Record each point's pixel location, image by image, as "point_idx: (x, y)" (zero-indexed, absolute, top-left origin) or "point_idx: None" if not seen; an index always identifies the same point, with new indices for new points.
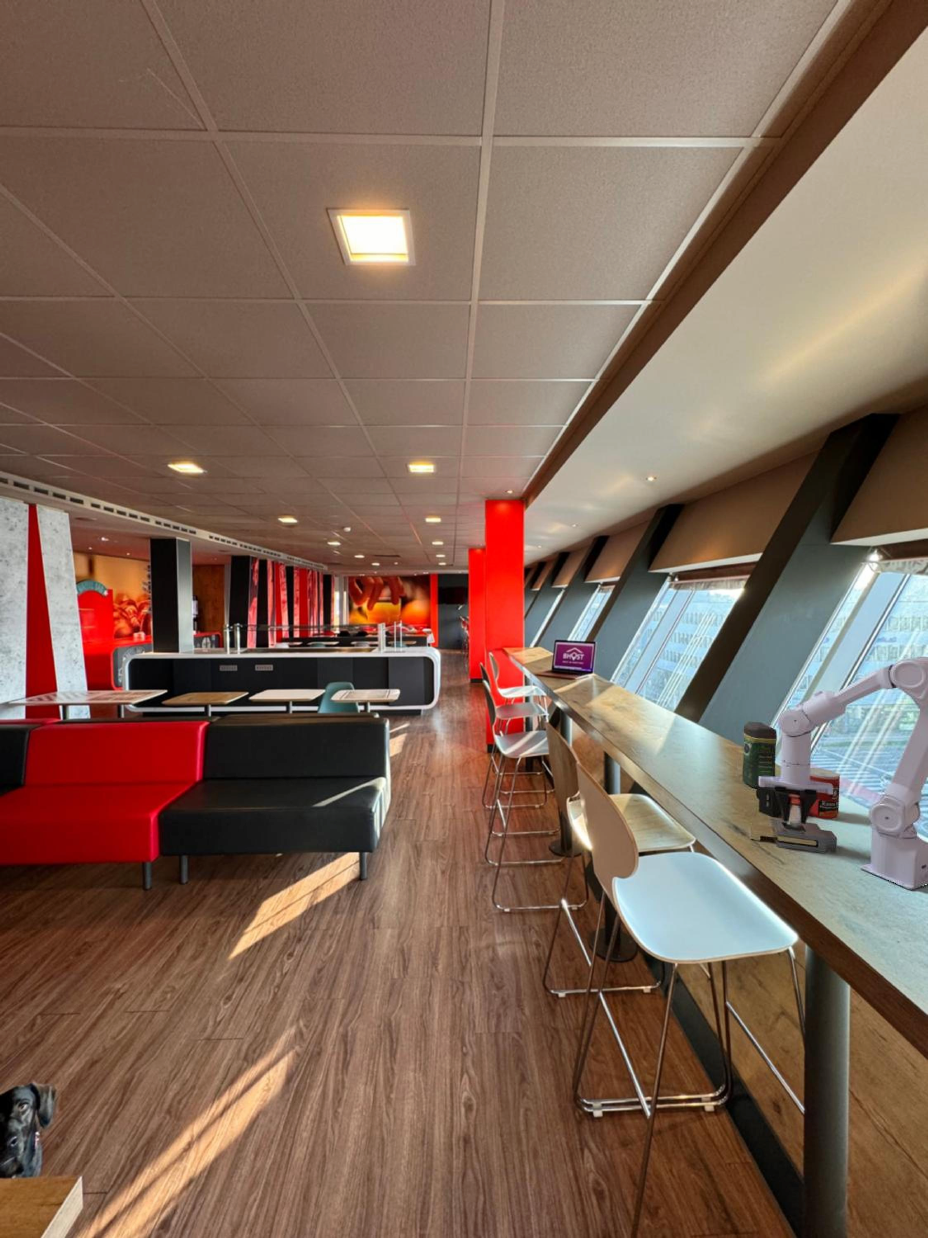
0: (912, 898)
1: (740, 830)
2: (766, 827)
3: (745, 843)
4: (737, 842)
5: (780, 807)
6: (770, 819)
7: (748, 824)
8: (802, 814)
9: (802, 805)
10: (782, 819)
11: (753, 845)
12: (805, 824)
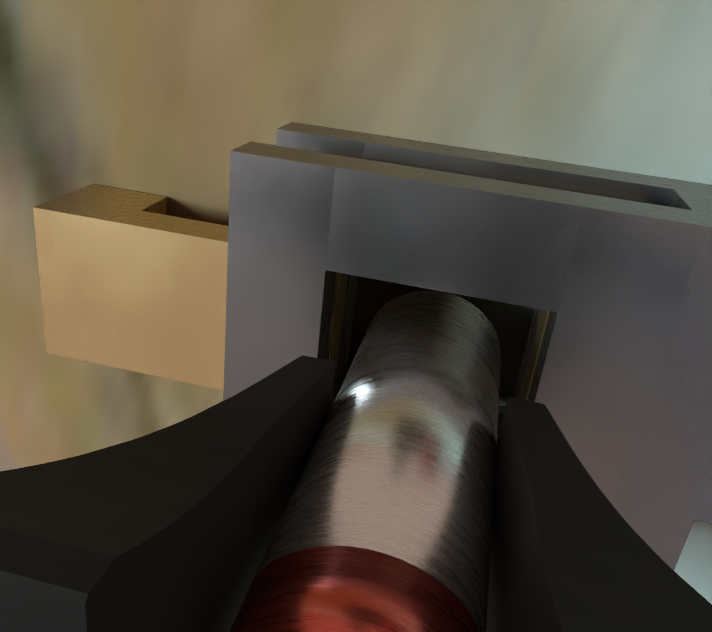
0: None
1: (35, 112)
2: (189, 278)
3: (61, 387)
4: (10, 377)
5: (228, 401)
6: (237, 148)
7: (34, 220)
8: (491, 550)
9: (507, 612)
10: (369, 172)
11: (111, 413)
12: (610, 303)
